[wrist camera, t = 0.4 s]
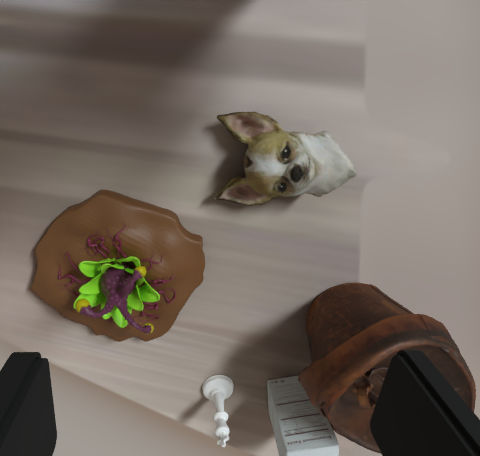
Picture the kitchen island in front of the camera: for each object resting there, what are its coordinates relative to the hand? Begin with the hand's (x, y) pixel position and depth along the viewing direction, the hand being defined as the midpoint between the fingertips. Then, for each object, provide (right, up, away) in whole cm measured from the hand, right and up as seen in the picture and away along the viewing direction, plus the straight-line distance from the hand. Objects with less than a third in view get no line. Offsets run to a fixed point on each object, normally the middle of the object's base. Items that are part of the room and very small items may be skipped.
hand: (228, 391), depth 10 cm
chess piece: (-3, -20, +48) cm, 52 cm away
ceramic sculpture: (+5, +13, +34) cm, 37 cm away
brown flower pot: (+16, -9, +45) cm, 49 cm away
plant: (-15, 0, +38) cm, 41 cm away
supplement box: (+8, -23, +50) cm, 56 cm away
